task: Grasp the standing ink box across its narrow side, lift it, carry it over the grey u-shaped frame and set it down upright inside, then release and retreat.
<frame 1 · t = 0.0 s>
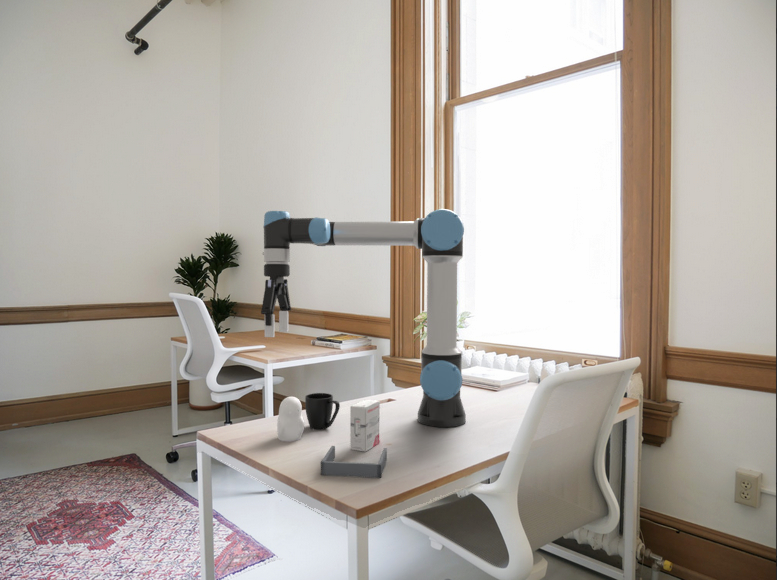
hand: (276, 334, 165), 28 cm above the table, fingers open, 13 cm apart
ink box: (365, 447, 148), on the table
mug: (323, 429, 164), on the table
figurine: (290, 439, 154), on the table
grey u-shaped frame: (355, 467, 132), on the table
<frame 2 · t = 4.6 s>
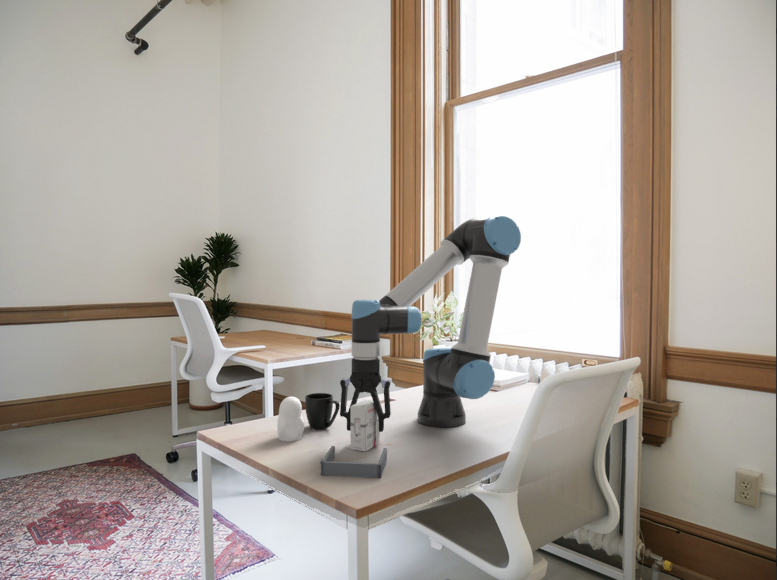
hand: (365, 442, 148), 1 cm above the table, fingers closed on ink box, 6 cm apart
ink box: (365, 446, 148), on the table, touching gripper
everything else where it was.
when the fingers open (3 cm above the table, at t = 10.4 s): ink box drops 2 cm, on the table.
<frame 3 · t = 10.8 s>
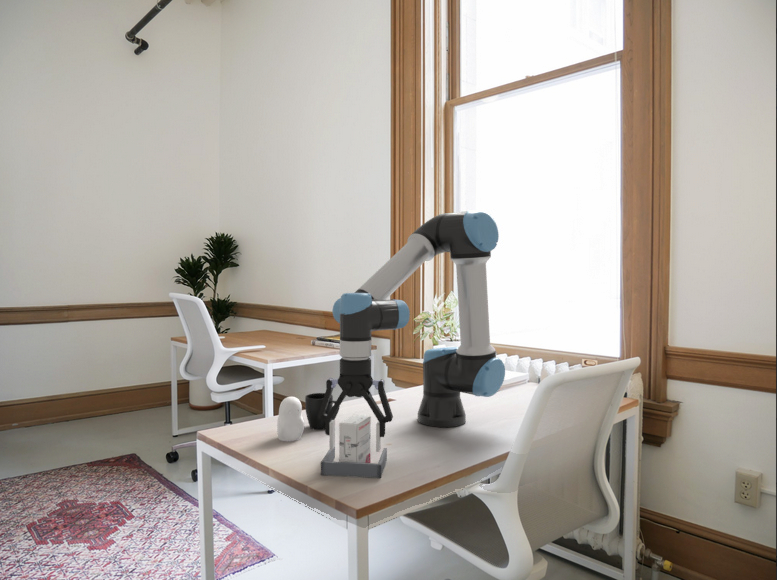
hand: (355, 449, 132), 4 cm above the table, fingers open, 10 cm apart
ink box: (355, 468, 132), on the table
everything else where it was.
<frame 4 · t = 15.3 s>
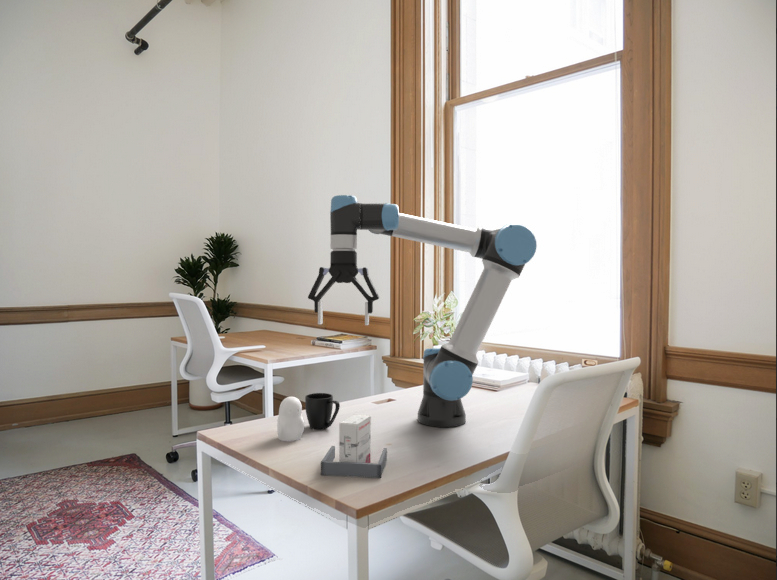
hand: (343, 324, 158), 32 cm above the table, fingers open, 13 cm apart
nothing on the table moved.
at the end: ink box inside the target area (0.2 cm from its centre), on the table; ink box tilted 0°; the gripper is holding nothing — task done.
